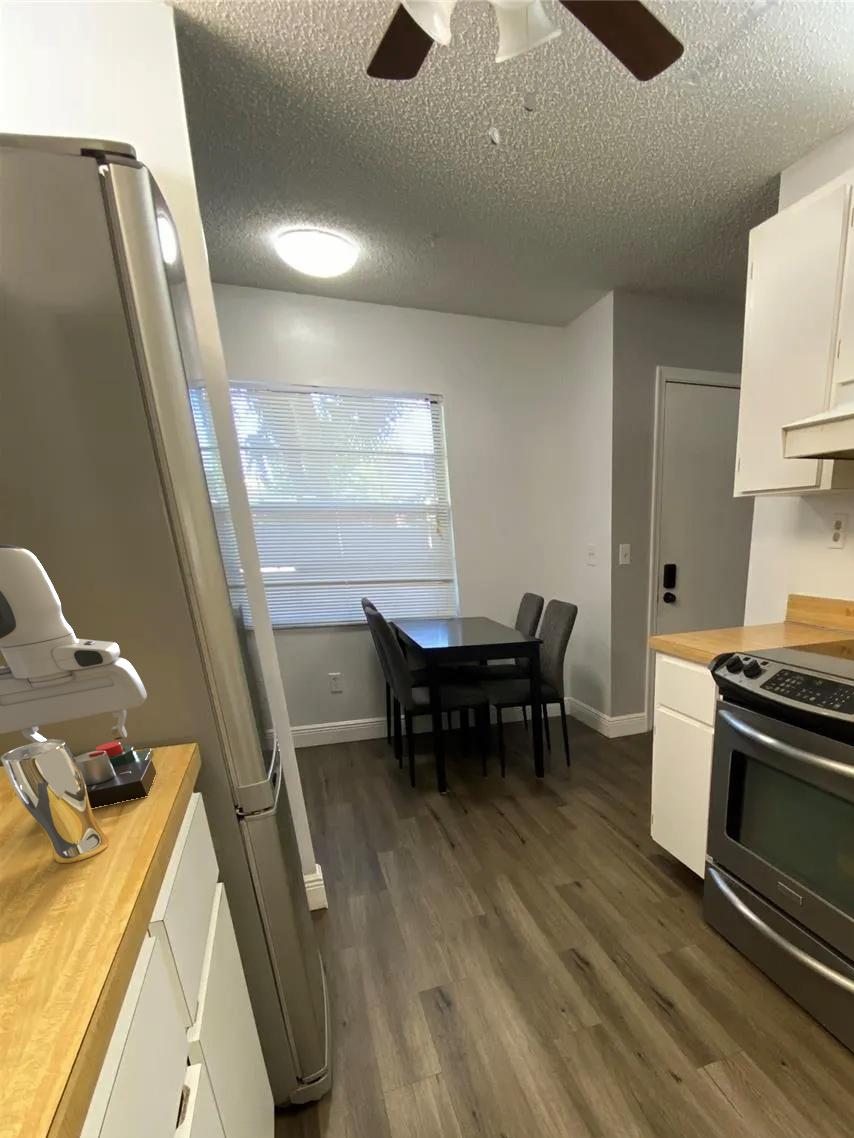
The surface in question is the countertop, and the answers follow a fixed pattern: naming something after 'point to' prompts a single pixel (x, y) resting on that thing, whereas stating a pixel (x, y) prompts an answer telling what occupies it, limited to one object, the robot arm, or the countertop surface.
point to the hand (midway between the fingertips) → (86, 744)
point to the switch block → (130, 756)
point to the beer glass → (56, 798)
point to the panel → (123, 784)
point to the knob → (95, 767)
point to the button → (110, 748)
